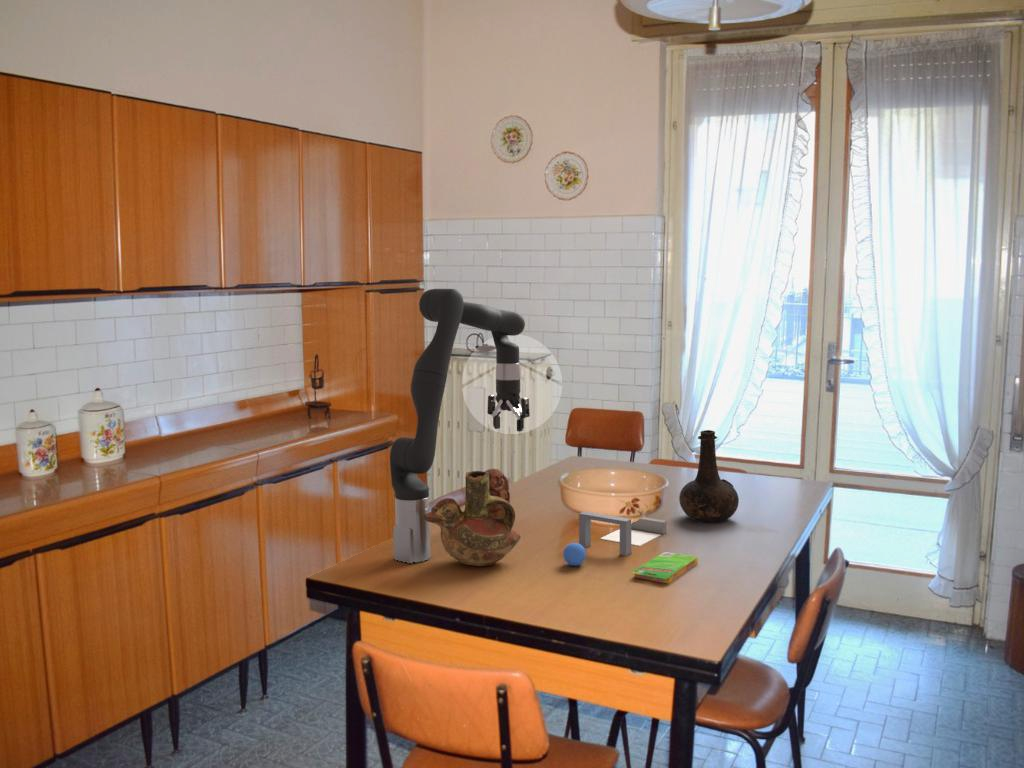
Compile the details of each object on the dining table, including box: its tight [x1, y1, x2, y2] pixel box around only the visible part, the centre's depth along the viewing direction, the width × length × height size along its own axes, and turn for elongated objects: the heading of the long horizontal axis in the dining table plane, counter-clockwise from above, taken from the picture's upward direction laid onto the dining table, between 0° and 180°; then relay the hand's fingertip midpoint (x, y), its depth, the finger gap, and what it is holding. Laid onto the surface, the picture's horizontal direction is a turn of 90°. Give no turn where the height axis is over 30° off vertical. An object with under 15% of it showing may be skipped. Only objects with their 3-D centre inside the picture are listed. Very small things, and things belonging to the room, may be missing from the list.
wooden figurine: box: [484, 468, 511, 518], centre depth 282 cm, size 12×6×18 cm, turn 143°
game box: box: [632, 551, 699, 584], centre depth 240 cm, size 3×10×20 cm
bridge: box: [578, 510, 632, 557], centre depth 258 cm, size 3×15×10 cm, turn 54°
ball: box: [562, 542, 587, 567], centre depth 245 cm, size 6×6×6 cm
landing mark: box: [599, 528, 662, 547], centre depth 271 cm, size 13×13×1 cm
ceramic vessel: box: [424, 470, 521, 567], centre depth 246 cm, size 17×26×25 cm, turn 105°
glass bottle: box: [678, 429, 739, 524], centre depth 287 cm, size 18×18×28 cm
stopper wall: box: [631, 516, 667, 535], centre depth 278 cm, size 2×13×4 cm, turn 54°
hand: (508, 429), depth 285 cm, fingers open, 8 cm apart
